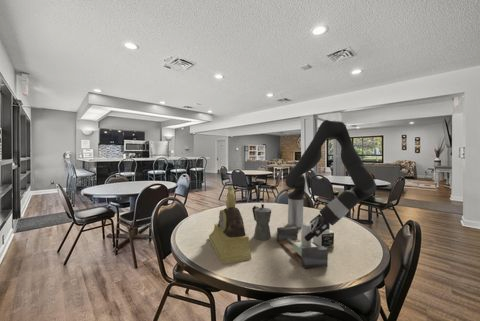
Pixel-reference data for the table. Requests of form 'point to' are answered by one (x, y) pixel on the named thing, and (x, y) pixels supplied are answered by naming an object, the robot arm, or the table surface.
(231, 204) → the decorative clock
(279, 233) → the rail
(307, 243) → the carriage
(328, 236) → the medicine bottle
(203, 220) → the table surface
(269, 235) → the coffeepot
